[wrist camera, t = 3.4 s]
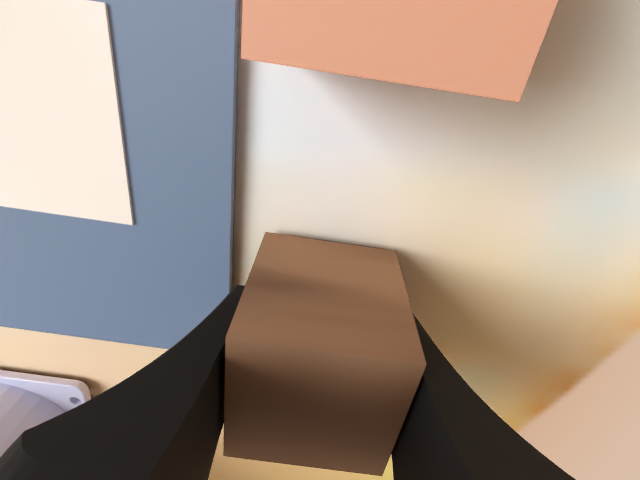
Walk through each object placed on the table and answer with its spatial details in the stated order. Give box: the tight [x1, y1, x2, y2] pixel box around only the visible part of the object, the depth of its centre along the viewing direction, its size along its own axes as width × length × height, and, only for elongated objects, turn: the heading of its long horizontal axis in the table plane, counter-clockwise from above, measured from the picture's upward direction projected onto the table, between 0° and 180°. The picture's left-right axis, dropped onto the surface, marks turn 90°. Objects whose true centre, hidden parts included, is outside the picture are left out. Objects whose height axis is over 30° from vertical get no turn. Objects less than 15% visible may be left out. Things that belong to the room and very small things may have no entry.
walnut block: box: [223, 232, 427, 476], centre depth 11 cm, size 4×4×5 cm
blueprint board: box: [0, 0, 239, 349], centre depth 11 cm, size 18×13×1 cm
